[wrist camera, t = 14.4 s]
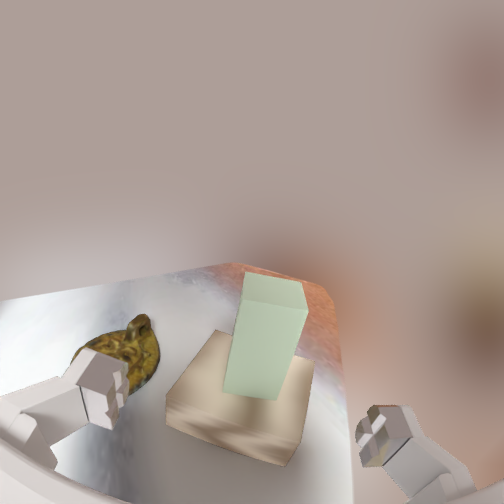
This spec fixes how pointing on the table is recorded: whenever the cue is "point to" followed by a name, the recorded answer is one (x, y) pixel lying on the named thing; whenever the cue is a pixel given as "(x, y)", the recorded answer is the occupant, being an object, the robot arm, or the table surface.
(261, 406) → the plinth
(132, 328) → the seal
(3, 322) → the table surface
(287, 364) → the green block
